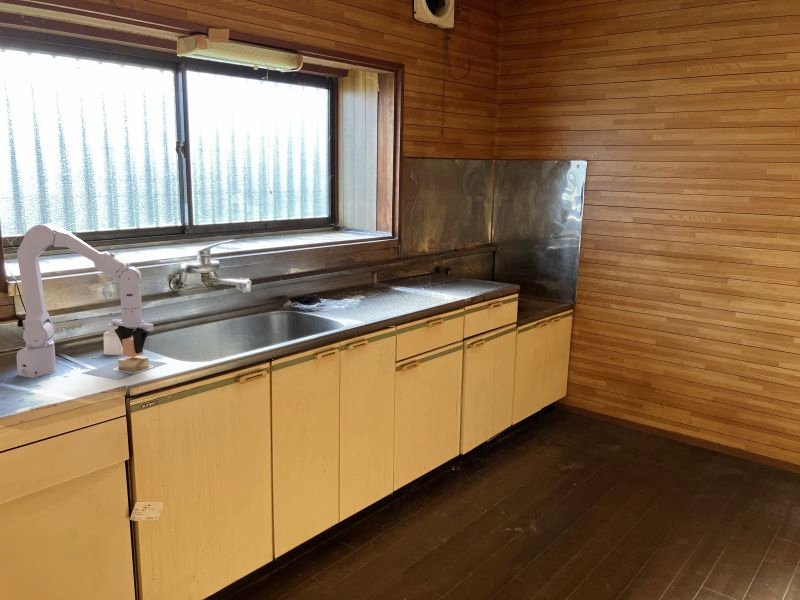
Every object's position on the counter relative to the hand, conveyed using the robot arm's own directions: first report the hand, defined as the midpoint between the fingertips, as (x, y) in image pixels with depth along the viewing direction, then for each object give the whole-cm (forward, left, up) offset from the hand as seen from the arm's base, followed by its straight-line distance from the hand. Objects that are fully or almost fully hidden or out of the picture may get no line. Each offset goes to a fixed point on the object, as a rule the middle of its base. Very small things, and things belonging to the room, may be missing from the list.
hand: (133, 351), depth 192 cm
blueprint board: (-1, +2, -6) cm, 6 cm away
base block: (0, 0, -5) cm, 5 cm away
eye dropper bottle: (+10, +18, -6) cm, 21 cm away
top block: (0, 0, -1) cm, 1 cm away
